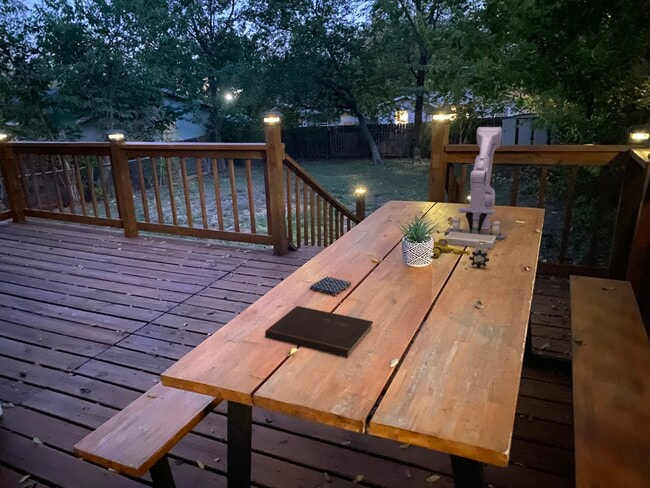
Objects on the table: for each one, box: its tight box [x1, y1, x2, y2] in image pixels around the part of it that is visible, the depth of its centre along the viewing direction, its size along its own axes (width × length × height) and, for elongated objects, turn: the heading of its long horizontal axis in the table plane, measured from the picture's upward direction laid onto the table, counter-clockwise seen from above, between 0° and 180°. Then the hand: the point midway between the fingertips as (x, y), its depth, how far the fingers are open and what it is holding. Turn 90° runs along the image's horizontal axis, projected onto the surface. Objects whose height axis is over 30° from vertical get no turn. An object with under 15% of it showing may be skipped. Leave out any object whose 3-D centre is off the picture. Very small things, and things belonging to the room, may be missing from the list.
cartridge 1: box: [452, 217, 461, 232], centre depth 195 cm, size 3×3×7 cm
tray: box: [444, 232, 497, 250], centre depth 183 cm, size 10×18×2 cm, turn 63°
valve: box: [468, 241, 490, 269], centre depth 161 cm, size 7×7×12 cm
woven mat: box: [309, 276, 352, 297], centre depth 144 cm, size 10×11×2 cm
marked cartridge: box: [471, 219, 479, 234], centre depth 191 cm, size 3×3×7 cm
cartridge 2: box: [491, 220, 501, 236], centre depth 188 cm, size 3×3×7 cm
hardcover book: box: [264, 305, 374, 358], centre depth 116 cm, size 16×23×2 cm
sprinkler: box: [432, 238, 471, 259], centre depth 173 cm, size 19×4×15 cm
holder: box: [444, 227, 507, 241], centre depth 192 cm, size 7×24×2 cm, turn 63°
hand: (475, 230), depth 192 cm, fingers closed on marked cartridge, 3 cm apart
